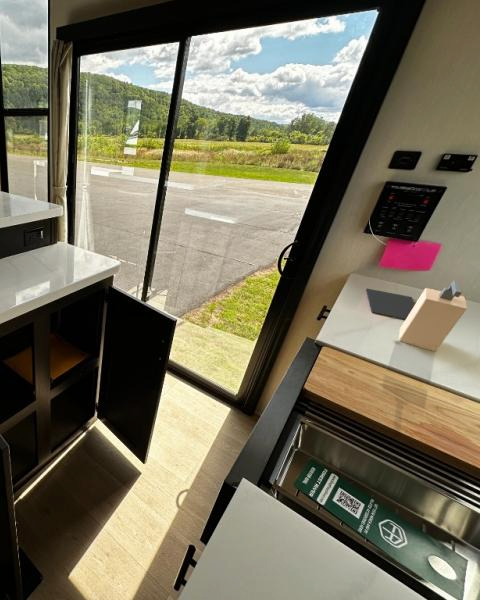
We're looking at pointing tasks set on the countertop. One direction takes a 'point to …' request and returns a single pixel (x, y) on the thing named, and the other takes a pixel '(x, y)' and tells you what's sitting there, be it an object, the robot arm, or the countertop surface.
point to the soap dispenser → (433, 317)
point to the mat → (390, 304)
